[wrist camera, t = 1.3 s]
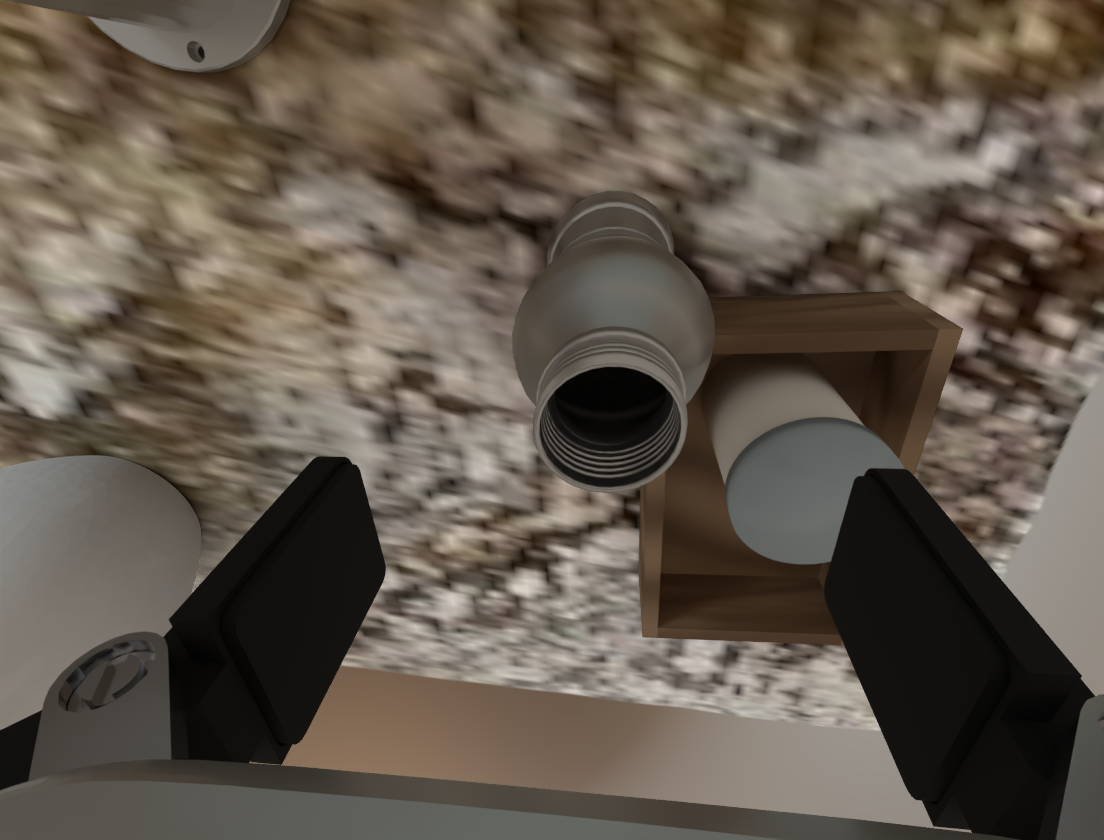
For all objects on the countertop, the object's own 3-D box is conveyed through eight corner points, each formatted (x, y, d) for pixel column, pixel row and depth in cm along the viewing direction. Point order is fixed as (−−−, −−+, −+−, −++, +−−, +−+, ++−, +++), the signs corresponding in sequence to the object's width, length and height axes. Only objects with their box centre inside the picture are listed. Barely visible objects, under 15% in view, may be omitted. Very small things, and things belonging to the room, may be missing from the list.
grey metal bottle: (528, 257, 30) (418, 442, 13) (608, 155, 27) (603, 222, 10) (611, 328, 32) (611, 576, 15) (695, 240, 29) (819, 421, 12)
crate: (644, 299, 31) (651, 336, 26) (900, 291, 29) (963, 328, 24) (638, 572, 42) (642, 637, 36) (825, 577, 40) (856, 645, 35)
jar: (702, 341, 31) (738, 431, 22) (836, 338, 30) (930, 431, 21) (693, 448, 34) (722, 562, 26) (812, 448, 34) (884, 566, 25)
